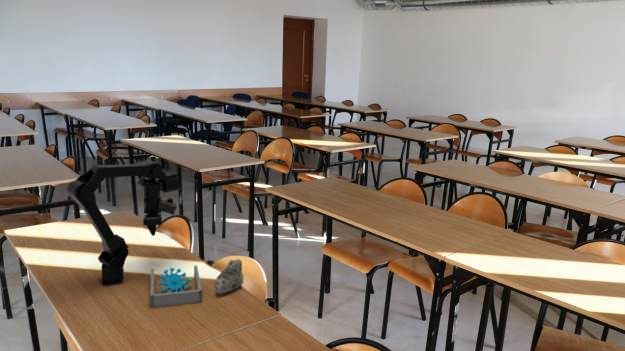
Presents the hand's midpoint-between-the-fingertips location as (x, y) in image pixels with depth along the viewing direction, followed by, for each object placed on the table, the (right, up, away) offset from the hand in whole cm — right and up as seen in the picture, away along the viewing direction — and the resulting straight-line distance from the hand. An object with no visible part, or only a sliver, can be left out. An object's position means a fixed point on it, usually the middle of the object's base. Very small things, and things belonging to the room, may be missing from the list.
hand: (153, 235), depth 172 cm
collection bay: (+12, -17, -13) cm, 25 cm away
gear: (+12, -18, -14) cm, 26 cm away
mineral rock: (+30, -17, -9) cm, 35 cm away
